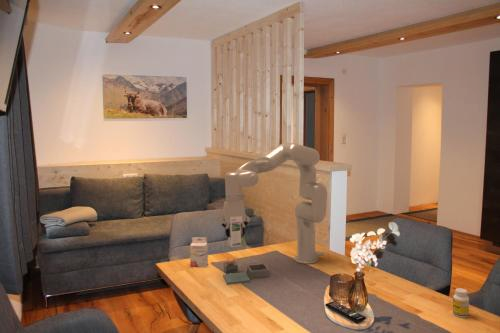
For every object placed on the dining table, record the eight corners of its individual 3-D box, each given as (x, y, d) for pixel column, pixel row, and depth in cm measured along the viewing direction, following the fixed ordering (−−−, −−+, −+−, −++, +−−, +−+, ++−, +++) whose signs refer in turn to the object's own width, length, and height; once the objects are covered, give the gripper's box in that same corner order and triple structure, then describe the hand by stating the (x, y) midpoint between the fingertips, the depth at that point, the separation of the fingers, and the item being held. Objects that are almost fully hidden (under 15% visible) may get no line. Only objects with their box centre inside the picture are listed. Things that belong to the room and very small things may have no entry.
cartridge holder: (264, 270, 216) (264, 263, 216) (269, 276, 207) (269, 269, 207) (246, 272, 214) (246, 265, 214) (251, 278, 205) (251, 271, 205)
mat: (244, 273, 212) (244, 271, 211) (250, 281, 201) (250, 279, 201) (222, 276, 209) (222, 274, 209) (227, 284, 198) (227, 282, 198)
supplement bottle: (449, 312, 165) (450, 287, 164) (463, 311, 165) (464, 286, 164) (457, 318, 160) (458, 293, 158) (471, 317, 160) (472, 292, 159)
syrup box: (231, 247, 199) (230, 217, 198) (227, 244, 205) (226, 214, 203) (243, 246, 201) (242, 215, 200) (239, 242, 207) (238, 213, 205)
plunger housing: (235, 268, 219) (235, 261, 219) (237, 272, 213) (237, 265, 213) (223, 270, 218) (223, 262, 217) (226, 274, 212) (225, 266, 211)
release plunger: (233, 268, 218) (233, 257, 217) (235, 270, 214) (235, 259, 213) (226, 269, 217) (225, 258, 216) (227, 271, 213) (227, 260, 212)
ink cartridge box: (190, 267, 224) (189, 239, 222) (192, 263, 229) (191, 236, 227) (206, 267, 223) (205, 239, 221) (208, 263, 228) (207, 236, 226)
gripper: (249, 195, 206) (251, 232, 208) (214, 198, 202) (215, 235, 204) (253, 198, 199) (254, 236, 201) (216, 201, 195) (218, 239, 197)
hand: (235, 235), depth 203 cm, fingers closed on syrup box, 6 cm apart
